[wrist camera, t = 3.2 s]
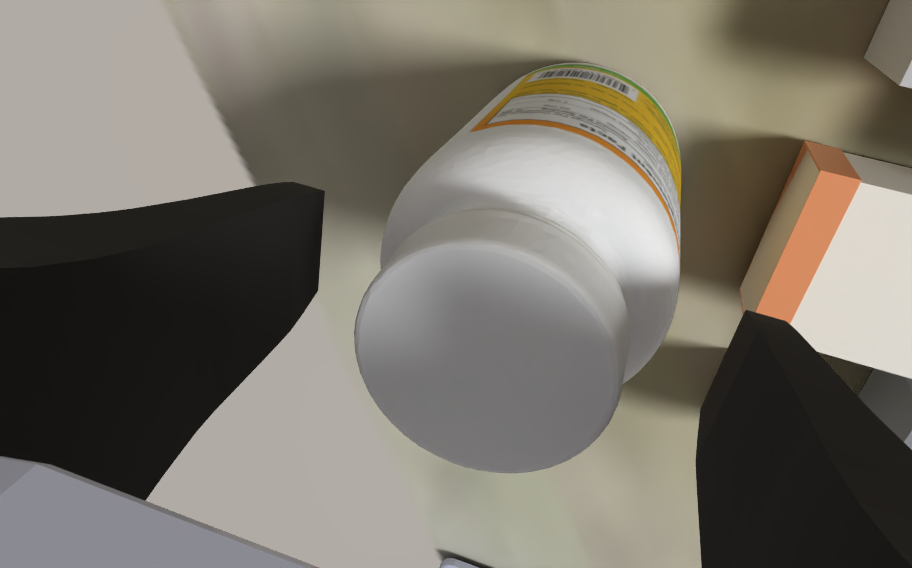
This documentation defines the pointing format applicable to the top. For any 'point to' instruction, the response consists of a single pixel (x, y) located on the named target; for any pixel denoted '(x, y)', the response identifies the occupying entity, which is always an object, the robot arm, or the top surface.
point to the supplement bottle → (527, 272)
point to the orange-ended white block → (840, 258)
